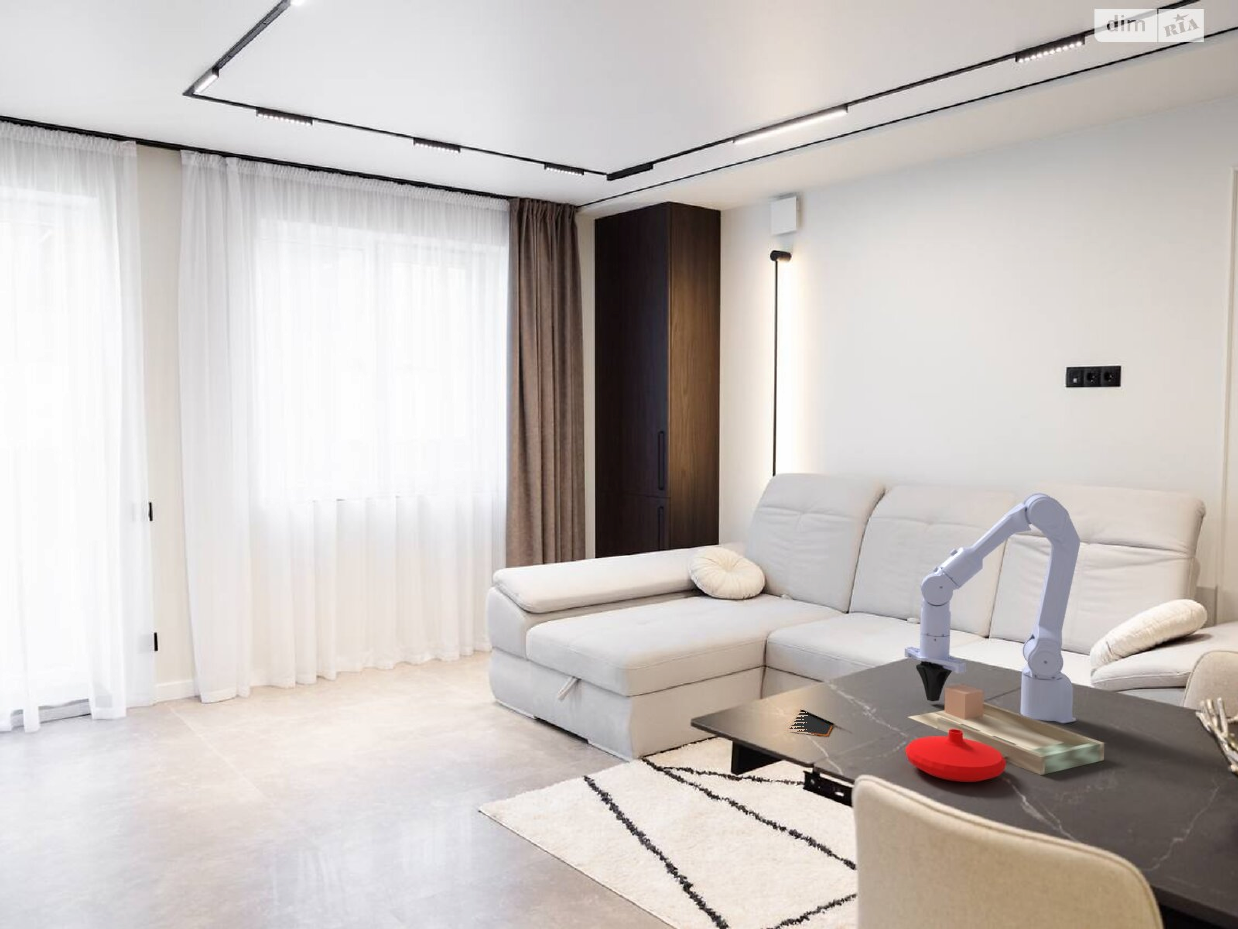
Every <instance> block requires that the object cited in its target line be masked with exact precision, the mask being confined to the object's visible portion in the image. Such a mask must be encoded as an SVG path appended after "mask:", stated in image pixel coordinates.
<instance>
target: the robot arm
mask: <svg viewBox="0 0 1238 929" xmlns="http://www.w3.org/2000/svg"><path fill="white" fill-rule="evenodd" d="M1030 525H1032V526H1033V527H1035V528H1036V529H1038V530H1039V531H1041V534H1043V536H1044V537H1045V538H1046V539H1047V540H1048V542H1049V543H1050V544H1051V545H1050V546H1051V547H1050V551H1049V555H1048V561H1047V565H1046V570H1045V574H1044V575H1045V576H1044V580H1043V583H1042V584H1043V585H1042V589H1041V593H1040V594H1041V595H1040V599H1039V605H1038V609H1037V614H1036V618H1035V622H1034V624H1033V626H1032V628H1031V633H1030V636H1029V637H1028V638H1027V640H1025V642H1024V643H1023V646H1022V656H1023V658H1024V660H1025V661H1026V665H1025V666H1024V667H1023V668H1022V669H1021V685H1020V686H1021V688H1020V689H1021V691H1020V715H1023V716H1026V717H1029V718H1032V719H1035V720H1038V721H1046V722H1047V721H1048V722H1049V721H1051V722H1052V721H1055V722H1057V723H1061V724H1067V723H1072V722H1076V721H1077V718H1075V717H1074V716H1073V704H1074V703H1073V702H1074V686H1073V683H1072V680H1071V679H1070V678H1069V677H1068V676H1067V675H1066V674H1065V673H1063V672H1062V670H1063V667H1064V659H1063V655H1062V645H1063V627H1064V623H1065V622H1064V621H1065V617H1066V612H1067V608H1068V602H1069V599H1070V598H1069V597H1070V592H1071V590H1072V589H1071V588H1072V583H1073V578H1074V574H1075V569H1076V565H1077V561H1078V560H1077V559H1078V556H1079V551H1080V545H1081V539H1080V536H1079V533H1078V531H1077V530H1076V528H1075V525H1074V523H1073V522H1072V519H1071V516H1070V514H1069V511H1068V510H1067V509H1066V508H1065V507H1064V506H1063V505H1062V504H1061V503H1060V502H1059V501H1058V500H1057V499H1055V497H1051V496H1050V495H1048V494H1046V493H1042V492H1038V493H1037V492H1036V493H1032V494H1031V495H1029V496H1028V497H1026V498H1025V500H1024V501H1023V503H1022V502H1020V503H1018V504H1017V505H1015V506H1014V507H1013V508H1011V509H1009V511H1008V512H1006V513H1005V514H1004V515H1003V516H1002V517H1000V519H999V520H998V521H997V522H996V523H994V524H993V525H992V527H990V529H988V530H987V531H986V532H985V533H984V534H983V535H982V536H981V537H979V539H978V540H977V541H976V542H975V543H973V545H972V546H961V547H959V548H958V549H956V548H953V549H952V550H951V551H950V552H949V554H950V556H949V557H948V558H947V559H946V560H945V561H943V562H942V563H941V564H940V565H939V566H936V565H935V566H934V567H933V568H932V572H933V573H929V574H927V575H926V576H925V577H924V578H923V579H922V582H921V584H920V591H921V594H922V600H921V609H920V629H919V647H914V646H909V647H904V658H908V659H909V658H910V659H914V660H917V661H921V662H919V663H918V664H916V665H915V669H916V671H917V672H918V674H919V676H920V678H921V681H922V684H923V688H924V692H925V696H926V700H927V701H929V702H937V701H940V698H941V694H942V691H943V690H944V689H943V688H944V685H945V684H946V681H947V680H948V678H949V677H950V674H951V673H952V672H954V674H958V675H959V674H965V673H966V671H967V668H966V667H967V663H966V662H964V661H961V660H959V659H957V658H955V657H953V656H952V655H950V650H951V649H950V648H951V646H950V644H951V616H952V615H951V614H952V613H951V611H950V603H951V600H952V598H953V597H954V596H953V595H954V591H955V590H959V589H960V588H962V587H964V585H966V583H968V581H970V579H972V578H973V577H974V576H975V575H977V574H978V573H979V572H980V571H981V570H982V569H983V566H984V563H983V560H984V558H986V557H987V556H988V555H989V554H991V553H992V552H994V550H995V549H998V547H999V546H1001V545H1002V544H1003V543H1004V542H1006V540H1008V539H1009V538H1010V537H1012V536H1013V535H1014V534H1016V533H1023V532H1029V531H1032V528H1031V526H1030Z"/></svg>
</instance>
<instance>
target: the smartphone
mask: <svg viewBox="0 0 1238 929" xmlns="http://www.w3.org/2000/svg"><path fill="white" fill-rule="evenodd" d="M800 710H801V709H800ZM799 712H805V713H799ZM799 712H798V713H799V714H797V715H808V716H804V717H802V716H801V717H797V716H796V717H795V718H794V720H795V719H801V720H796V721H794V720H793V721H794V722H805V723H804V724H803V723H797V724H796V723H795V724H794V725H791V724H790V726H801V727H797V728H796V727H795V728H794V729H805V730H804V731H802V730H801V731H800V730H799V731H797V732H808V733H811V734H814V735H817V736H816V737H821V736H825V737H824V738H828V737H829V735H830V734H831V732H832V730H833V728H834V725H835V722H832V721H829V720H827V719H826V718H823V717H821V716H819V715H816V714H814V713H811V712H809V711H807V710H805V709H803V710H801V711H799ZM806 712H807V713H806ZM802 719H804V720H802ZM806 722H807V723H806ZM802 726H804V727H802ZM788 729H793V728H792V727H791V728H790V727H789V728H788ZM806 729H807V730H806ZM831 729H832V730H831ZM814 735H813V736H814ZM827 736H828V737H827Z"/></svg>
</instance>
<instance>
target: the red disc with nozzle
mask: <svg viewBox="0 0 1238 929" xmlns="http://www.w3.org/2000/svg"><path fill="white" fill-rule="evenodd" d="M947 734H948V735H947V736H944V735H943V736H942V735H940V736H939V735H937V736H933V735H932V736H924V737H923V736H922V737H920V738H916V739H914V740H912V741H911V742H910V743H908V745H907V746H905V749H904V750H905V754H906V757H907V760H908V761H909V763H910V764H912V765H913V766H914V767H915V768H917V769H918V770H919V769H920V770H921V771H923V772H925V773H927V774H928V775H930V776H933V777H936V778H938V779H942V780H947V781H952V782H961V783H965V782H966V783H975V782H982V781H984V780H989V779H993V778H996V777H998V776H1001V774H1003V772H1004V770H1005V769H1006V766H1007V762H1006V760H1005V759H1004V757H1005V756H1004V755H1002V754H1001V753H1000V752H999V751H997V750H996V749H995V748H993V747H990V746H988V745H986V744H983V743H980V742H977V741H973V740H968V739H963V731H961V730H958V729H950V730H949V733H947Z"/></svg>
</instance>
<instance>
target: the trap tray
mask: <svg viewBox="0 0 1238 929" xmlns="http://www.w3.org/2000/svg"><path fill="white" fill-rule="evenodd" d="M907 718H908V719H912V720H914V721H916V722H918V723H922V724H924V725H926V726H929V727H931V728H934V729H936V730H940V731H942V732H945V733H947V734H948V733H949V730H950V729H958V730H961V731H963V739H968V740H973V741H977V742H980V743H983V744H986V745H988V746H990V747H993V748H995V749H996V750H997V751H999V752H1000V753H1001V755H1002V756H1003V757H1004V759H1005V760H1006V763H1009V764H1011V765H1014V766H1017V767H1019V768H1022V769H1025V770H1026V771H1028V772H1031V773H1034V774H1036V775H1039V776H1043V775H1046V774H1052V773H1055V772H1059V771H1064V770H1069V769H1071V768H1075V767H1081V766H1084V765H1088V764H1094V763H1097V762H1101V761H1104V760H1105V742H1102V741H1099V740H1096V739H1093V738H1091V737H1088V736H1085V735H1082V734H1078V733H1076V732H1072V731H1070V730H1067V729H1065V728H1061V727H1058V726H1055V725H1053V724H1049V723H1046V722H1043V721H1042V720H1037V719H1032V718H1029V717H1026V716H1024V715H1022V714H1021V713H1017V712H1014V711H1011V710H1008V709H1005V708H1003V707H999V706H996V705H994V704H991V703H988V702H985V701H984V702H983V716H982V717H977V718H971V719H966V720H964V719H961V718H958V717H956V716H953V715H950V714H948V713H945V709H944V710H940V711H933V712H927V713H922V714H917V715H911V716H907Z"/></svg>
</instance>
